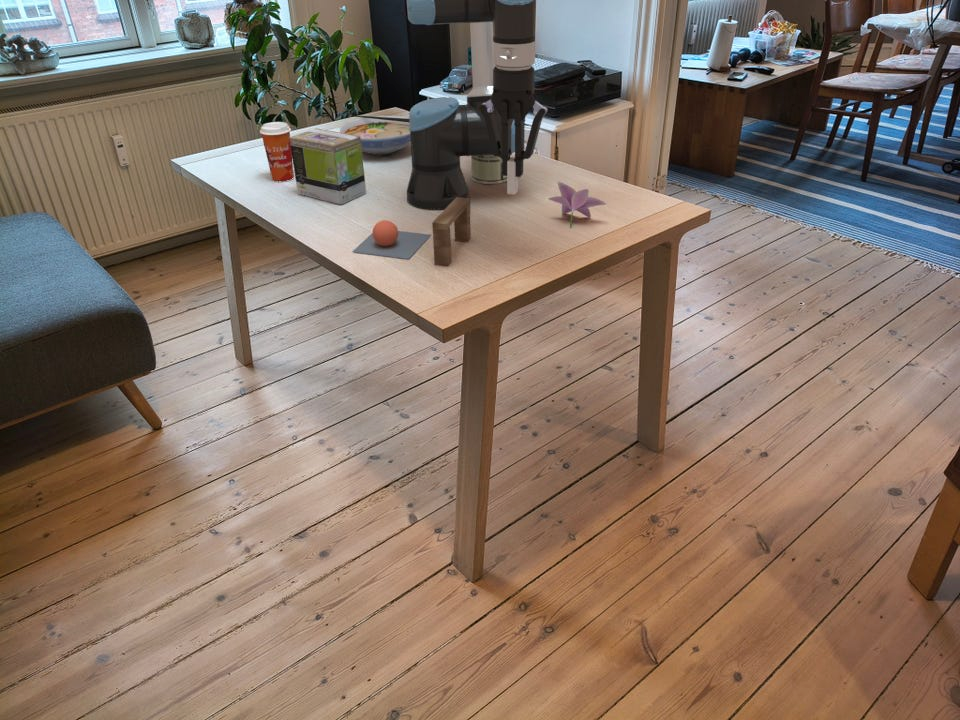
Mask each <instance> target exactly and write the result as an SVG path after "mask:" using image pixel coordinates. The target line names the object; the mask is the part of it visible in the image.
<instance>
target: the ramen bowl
mask: <svg viewBox="0 0 960 720" xmlns="http://www.w3.org/2000/svg"><path fill="white" fill-rule="evenodd" d="M352 117H355V118H354V119H351V120H349V121H346V122H344V123H343V124H341V125H340V126H339V132H340V133H346V134H352V135H358V136H360V139H361V147H362V153H363V152H364V153H368V154H370V155H372V156H379V155H381V156H387V155H391V154H393V153H395V152H397V151H399V150H401V149H404V148H405V147H407V146H409V144H411V139H410V131H409V117H405V116H400V115H376V116H369V115H355V114H354V115H352Z"/></svg>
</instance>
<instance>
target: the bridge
mask: <svg viewBox="0 0 960 720" xmlns="http://www.w3.org/2000/svg"><path fill="white" fill-rule="evenodd" d="M431 224H432V226H431V227H432V239H433V240H432V243H433V260H434V261H433V262H434V263H433V264H434V266H441V267H449V266H450V265H451V264H452V243H451V240H452V239H451V236H452V235H451V226H452V225H453V228H454V242H455V241H456V242H462V243H464V242H465V243H469V241H470V240H471V239H472V236H471V233H472V232H471V230H472V229H471V200H470V198H469V197H468V198H460V197H456V198H455V199H454V200H453V201H452V202H451V203H450V205H449V206H448V207H447V208H446V209H443V210H442V212H441V213H440V214H439V215H437V217H436V218H435V219H434V220H433V221H432V223H431Z"/></svg>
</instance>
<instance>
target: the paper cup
mask: <svg viewBox="0 0 960 720" xmlns="http://www.w3.org/2000/svg"><path fill="white" fill-rule="evenodd" d="M291 131H292V129H291V128H290V125H289V124H288V123H287V122H283V121H273V122H272V121H271V122H266V123H263V124H262V125H261V127H260V130H259V133H260V134H261V137H262V142H263V143H262V144H263V147H264V150H265V155H266V158H267V162H268V166H269V171H270V175H271V179H272V181H273V180H274V182H275V181H278V183H280V182H279V181H286V180H290V179H292V178H293V177H295V173H294V166H293V160H292V153H291V146H290V140H289V137H291V134H290V133H291ZM293 179H294V178H293ZM293 179H292V180H293ZM290 181H291V180H290ZM286 182H287V181H286Z"/></svg>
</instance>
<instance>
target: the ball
mask: <svg viewBox="0 0 960 720" xmlns="http://www.w3.org/2000/svg"><path fill="white" fill-rule="evenodd" d="M398 231H399V229H398V227H397V225H396V224H395V223H394V222H392V221H390V220H388V219H387V220H380V221H378V222H377V223H375V225H374V226H373V229H372V232H371V234H373V238H374V240H375V241H376V243H378V244H379V245H381V246H390V245H392V244H393V243H395V242H396V240H397V238H398Z"/></svg>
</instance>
